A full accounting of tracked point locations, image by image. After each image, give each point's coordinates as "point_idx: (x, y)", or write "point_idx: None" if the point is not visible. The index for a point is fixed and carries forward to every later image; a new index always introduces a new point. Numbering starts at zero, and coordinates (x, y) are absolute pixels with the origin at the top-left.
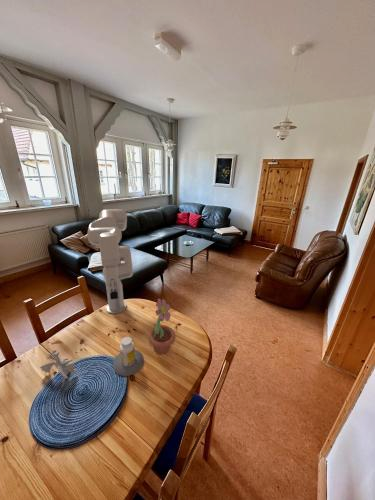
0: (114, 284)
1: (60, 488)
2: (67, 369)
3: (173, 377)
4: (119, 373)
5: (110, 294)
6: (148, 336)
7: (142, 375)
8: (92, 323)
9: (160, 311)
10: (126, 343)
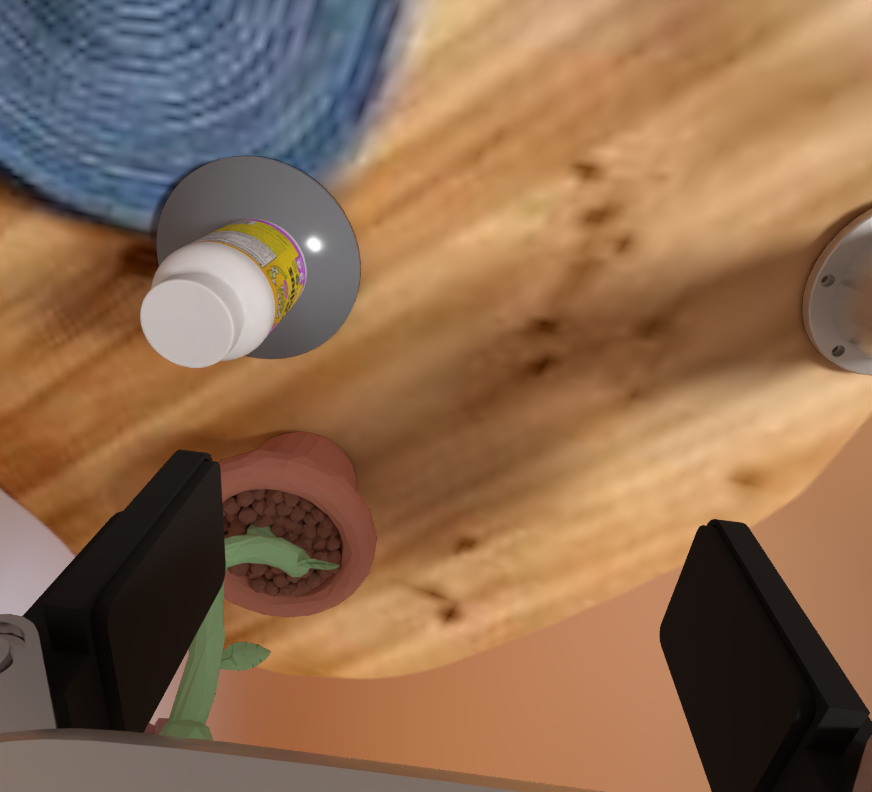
0: (696, 656)
1: None
2: None
3: (97, 461)
4: (177, 190)
5: (103, 547)
6: (290, 465)
7: None
8: (819, 31)
9: None
10: (153, 319)
